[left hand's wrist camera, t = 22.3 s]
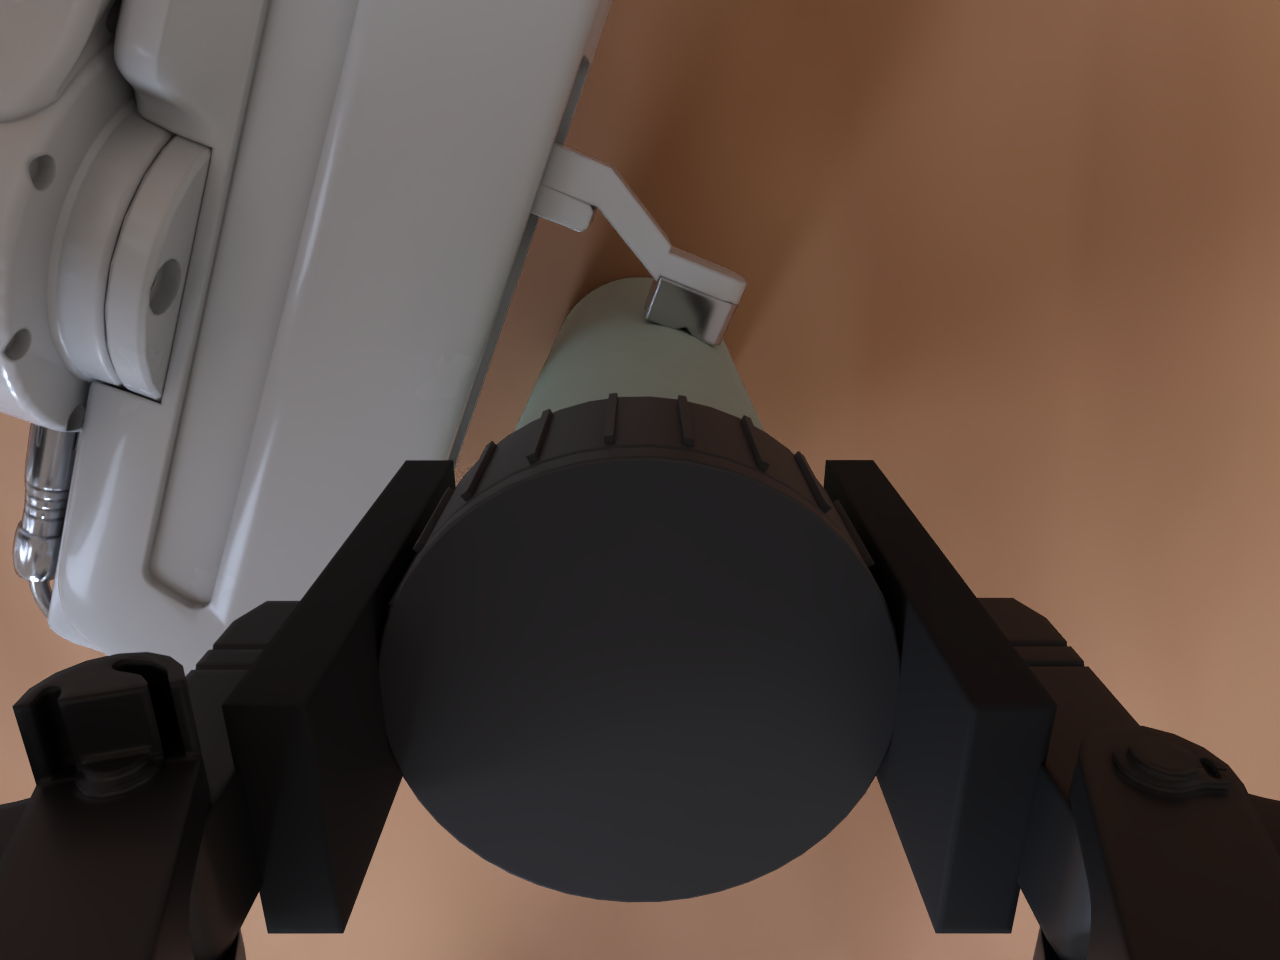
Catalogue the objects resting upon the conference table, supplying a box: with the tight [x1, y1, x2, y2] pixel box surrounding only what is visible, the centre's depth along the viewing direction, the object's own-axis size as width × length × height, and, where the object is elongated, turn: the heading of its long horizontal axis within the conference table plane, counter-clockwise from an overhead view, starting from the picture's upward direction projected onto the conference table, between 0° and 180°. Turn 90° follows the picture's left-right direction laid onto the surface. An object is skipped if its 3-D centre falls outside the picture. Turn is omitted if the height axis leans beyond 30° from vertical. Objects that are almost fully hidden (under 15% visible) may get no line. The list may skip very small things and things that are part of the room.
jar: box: [515, 277, 764, 431], centre depth 18 cm, size 5×5×16 cm
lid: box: [378, 393, 901, 902], centre depth 11 cm, size 6×6×2 cm
